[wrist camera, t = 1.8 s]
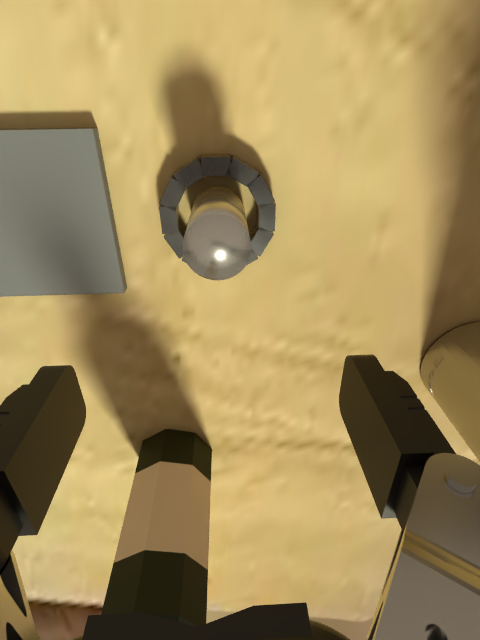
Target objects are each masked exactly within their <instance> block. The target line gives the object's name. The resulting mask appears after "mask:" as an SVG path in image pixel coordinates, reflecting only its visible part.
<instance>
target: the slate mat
mask: <svg viewBox="0 0 480 640" xmlns="http://www.w3.org/2000/svg"><path fill="white" fill-rule="evenodd" d="M126 289H127V285H126V280H125V274H124V269H123V264H122V258H121V253H120V247H119V242H118V237H117V231H116V226H115V221H114V215H113V210H112V204H111V199H110V194H109V188H108V183H107V177H106V172H105V167H104V161H103V156H102V151H101V145H100V140H99V134H98V129H97V128H69V129H10V130H0V297H3V296H37V295H71V294H105V293H124V292H125V291H126Z"/></svg>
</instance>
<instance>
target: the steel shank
mask: <svg viewBox="0 0 480 640" xmlns="http://www.w3.org/2000/svg"><path fill="white" fill-rule="evenodd" d="M183 254H184V258H185V260H186V262H187V264H188V265H189V267H190V268H191V269H192V270H193V271H194V272H195V273H197V274H198V275H200V276H202V277H204V278H207V279H211V280H224V279H228V278H231V277H233V276H235V275H237V274H238V273H239V272H240V271H242V270H243V268H244V267H245V266H246V264H247V263H248V261H249V258H250V254H251V241H250V236H249V231H248V226H247V222H246V217H245V212H244V207H243V204H242V202H241V200H240V198H239V197H238V196H237V195H236V194H235V193H234V192H233V191H231V190H229V189H227V188H224V187H212V188H209V189H206V190H205V191H203V192H202V193H201V194H200V195H199V196H198V197H197V198H196V200H195V202H194V205H193V208H192V212H191V215H190V218H189V222H188V225H187V228H186V232H185V235H184V239H183Z"/></svg>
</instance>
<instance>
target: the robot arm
mask: <svg viewBox="0 0 480 640" xmlns="http://www.w3.org/2000/svg"><path fill="white" fill-rule="evenodd" d="M420 373H421V379H422V381H423V383H424V385H425V387H426V388H427V389H428V391H429V392H430V393H431V395H432V396H433V398H434V399H435V400H436V402H437V403H438V404H439V406H440V407H441V409H442V410H443V412H444V413H445V414H446V416H447V417H448V419H449V420H450V421H451V423H452V424H453V425H454V427H455V428H456V430H457V431H458V432H459V434H460V435H461V437H462V438H463V439H464V441H465V442H466V443H467V445H468V446H469V448H470V449H471V450H472V452H473V453H474V454H475V456H476V457H477V459H478V460H479V461H480V322H475V323H470V324H466V325H463V326H460V327H457V328H455V329H453V330H452V331H450V332H448V333H446V334H445V335H443V336H442V337H441V338H439V339H438V340H437V341H436V342H435V343H434V344H433V345H432V346H431V347H430V349H429V350H428V351H427V353H426V354H425V356H424V359H423V361H422V364H421V370H420ZM339 406H340V412H341V415H342V418H343V421H344V423H345V426H346V428H347V431H348V434H349V436H350V439H351V441H352V444H353V446H354V449H355V452H356V454H357V457H358V459H359V462H360V464H361V467H362V470H363V472H364V475H365V477H366V480H367V482H368V485H369V488H370V490H371V493H372V495H373V498H374V500H375V503H376V506H377V508H378V511H379V513H380V516H381V518H397V519H398V522H399V524H400V526H401V529H402V530H401V532H400V535H399V538H398V542H397V545H396V548H395V551H394V554H393V558H392V561H391V564H390V567H389V570H388V574H387V577H386V580H385V583H384V586H383V590H382V593H381V596H380V599H379V602H378V605H377V608H376V611H375V614H374V617H373V620H372V623H371V626H370V629H369V632H368V636H367V639H366V640H480V465H478V464H477V463H475V462H473V461H472V460H470V459H468V458H466V457H463V456H460V455H457V454H456V453H455V452H454V450H453V449H452V447H451V446H450V444H449V443H448V441H447V440H446V438H445V437H444V435H443V434H442V432H441V431H440V429H439V428H438V426H437V425H436V423H435V422H434V421H433V419H432V418H431V416H430V415H429V413H428V412H427V410H425V409H424V406H423V404H422V403H421V401H420V400H419V399H417V395H416V394H415V392H414V391H413V389H412V388H411V386H410V385H409V383H408V382H407V381H405V380H404V379H403V378H401V377H400V376H399V375H397V374H396V373H395V372H394V371H384V369H383V368H382V366H381V365H380V363H379V361H378V360H377V358H376V357H375V356H374V355H350V356H347V357H346V359H345V363H344V369H343V375H342V381H341V388H340V394H339ZM85 418H86V407H85V402H84V399H83V396H82V393H81V389H80V386H79V383H78V379H77V376H76V373H75V370H74V368H73V367H72V366H70V365H66V366H43V367H41V368H40V369H39V371H38V372H37V374H36V375H35V377H34V378H33V379H32V381H31V382H30V384H29V385H22V386H21V387H19V388H18V389H17V390H16V391H14V392H13V393H12V394H10V395H9V396H8V397H6V399H5V400H4V401H3V403H2V404H1V405H0V640H41V639H40V637H39V635H38V632H37V630H36V627H35V625H34V621H33V618H32V615H31V611H30V608H29V604H28V601H27V597H26V593H25V590H24V586H23V583H22V579H21V576H20V572H19V569H18V565H17V562H16V558H15V555H14V553H13V551H12V548H13V546H14V544H15V542H16V540H17V538H18V536H25V535H37V534H38V532H39V529H40V527H41V525H42V522H43V520H44V518H45V515H46V513H47V511H48V508H49V506H50V504H51V501H52V499H53V497H54V494H55V492H56V490H57V487H58V485H59V483H60V480H61V478H62V476H63V473H64V471H65V469H66V466H67V464H68V462H69V459H70V457H71V455H72V452H73V450H74V448H75V445H76V443H77V441H78V438H79V436H80V434H81V431H82V429H83V427H84V423H85ZM73 640H350V639H348V638H347V637H346V636H344V635H343V634H341V633H339V632H338V631H336V630H334V629H332V628H331V627H328V626H326V625H324V624H321V623H319V622H315V621H312V620H309V616H308V610H307V604H306V603H292V604H275V605H259V606H252V607H249V608H246V609H244V610H241V611H239V612H236V613H233V614H231V615H228V616H226V617H223V618H221V619H218V620H215V621H213V622H210V623H207V624H205V625H202V626H191V625H187V624H184V623H180V622H176V621H173V620H169V619H165V618H162V617H158V616H154V615H150V614H147V613H143V612H141V613H124V614H107V615H90V616H88V619H87V623H86V626H85V630H84V634H83V635H81V636H79V637H76V638H75V639H73Z"/></svg>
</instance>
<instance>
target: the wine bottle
mask: <svg viewBox="0 0 480 640" xmlns="http://www.w3.org/2000/svg"><path fill="white" fill-rule="evenodd" d="M211 458H212V449H211V448H210V447H209V446H208V445H207V444H206V443H205V442H204V441H203V440H202V439H201V438H200V437H199V436H198V435H197V434H196V433H192V432H184V431H177V430H169V429H165V430H163V431H161V432H159V433H157V434H155V435H154V436H152V437H150V438H148V439H146V440H144V441H143V443H142V447H141V451H140V455H139V459H138V464H137V468H136V472H135V476H134V480H133V484H132V489H131V493H130V497H129V501H128V505H127V509H126V514H125V518H124V522H123V526H122V530H121V534H120V539H119V543H118V547H117V551H116V555H115V560H114V564H113V568H112V572H111V576H110V580H109V585H108V589H107V593H106V597H105V601H104V605H103V610H102V614H101V615H107V614H124V613H141V612H143V613H147V614H150V615H154V616H158V617H162V618H165V619H169V620H173V621H176V622H180V623H184V624H187V625H191V626H202V625H205V624H206V610H207V580H208V549H209V519H210V489H211Z"/></svg>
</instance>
